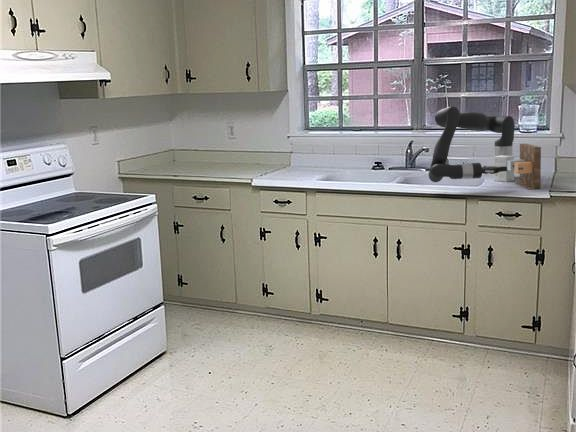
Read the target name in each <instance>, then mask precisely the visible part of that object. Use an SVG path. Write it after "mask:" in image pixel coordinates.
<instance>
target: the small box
mask: <svg viewBox="0 0 576 432" xmlns="http://www.w3.org/2000/svg"><path fill="white" fill-rule="evenodd" d="M493 157H494V158H493V159H494V163H493V164H494V165H493V166H497V167H504V166H505V167H507V160H515V156H514V155H512V156H504V155H501V156H495V155H494V156H493ZM493 175H494V176H493V177H494V179H493V180H494V182H505V183H508V182H513V181H515V173H514V171H509V170H507V171H503V172H499V173H495V174H493Z"/></svg>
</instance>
